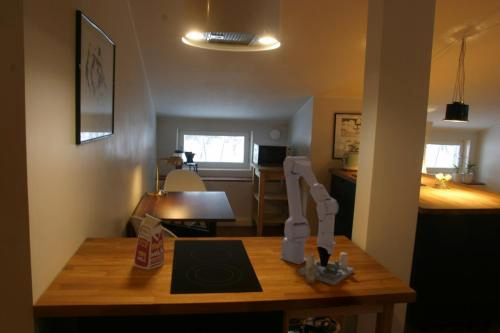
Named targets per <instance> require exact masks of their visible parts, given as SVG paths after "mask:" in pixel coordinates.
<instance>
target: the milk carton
mask: <svg viewBox="0 0 500 333" xmlns="http://www.w3.org/2000/svg"><path fill="white" fill-rule="evenodd" d="M161 221H162V219H159V218H156V217H153V216H152V215H149V213H145V217H144V219H143V220H142V221H141V222H140V225H139V230H138V235H137V239H136V240H137V241H136V246H135V251H134V257H133V263H132V264H133V265H132V266H133V267H136V268H140V269H143V270H147V271H150V270H152V269H155V268H159V267H161V266H163V264H165V263H166V262H165V243H164V242H165V241H164V231H163V224H162V223H161Z"/></svg>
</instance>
